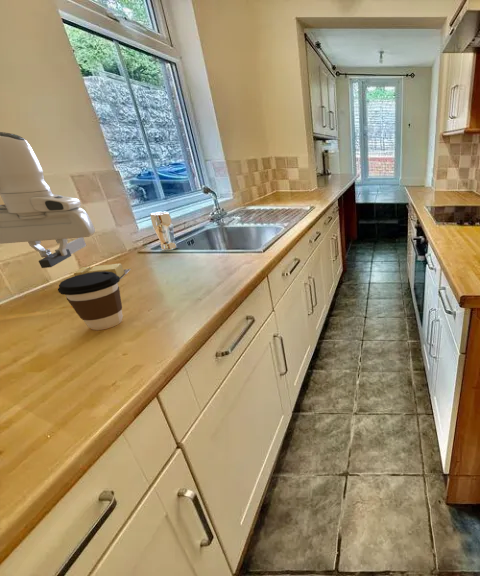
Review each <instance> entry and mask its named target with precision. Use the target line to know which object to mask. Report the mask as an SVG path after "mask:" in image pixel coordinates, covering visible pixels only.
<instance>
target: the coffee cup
mask: <svg viewBox="0 0 480 576" xmlns="http://www.w3.org/2000/svg"><path fill="white" fill-rule="evenodd" d="M120 280H121V279H120V278H119V276H117V275H116V274H115V273H113V272H108V271H101V272H92V273H86V274H81V275H77V276H75V275H74V276H72V277H68V278H66V279H64V280H62V281H61V282H60V283H59V284H58V288H57V292H58V293H59V294H60V295H64V296H65V297H66V300H67V301H68V304H69V305H70V306H71V307H72V309H73V310H74V311H75V313H76V314H77V316H78V317H79V318H80V319H81V320H82V321H83V322H84V323H85V326H86V327H88V328H89V329H91V330H92V331H102V330H107V329H111V328H113V327H116V326H117V325H120V324H121V323H122V322H123V304H122V303H123V302H122V297H121V291H120V286H119V284H118V283H120Z"/></svg>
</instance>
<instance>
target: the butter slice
mask: <svg viewBox="0 0 480 576" xmlns="http://www.w3.org/2000/svg"><path fill="white" fill-rule="evenodd" d="M90 269H92V268H91V266H90V265H89V266H82V267H80V268H79V269H76V271H74V272H73V275H74V276H77V275H81V274H86V273H88V271H89V270H90Z"/></svg>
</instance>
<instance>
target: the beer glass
mask: <svg viewBox="0 0 480 576" xmlns="http://www.w3.org/2000/svg"><path fill="white" fill-rule="evenodd" d="M149 216H150V220H151V225H152V228H153V230H154V232H155V234H156V236H157V238H158V240H159V243H160V250H161V251H172V250H177V249H178V248H179V247H178V244H177V242H176V239H175V231H174V230H175V229H174V224H173V220H172V218H171V215H170V211H155V212H152V213H150V214H149Z"/></svg>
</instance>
